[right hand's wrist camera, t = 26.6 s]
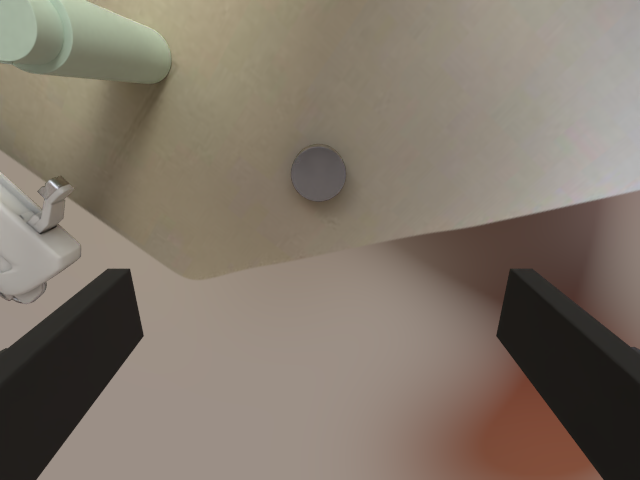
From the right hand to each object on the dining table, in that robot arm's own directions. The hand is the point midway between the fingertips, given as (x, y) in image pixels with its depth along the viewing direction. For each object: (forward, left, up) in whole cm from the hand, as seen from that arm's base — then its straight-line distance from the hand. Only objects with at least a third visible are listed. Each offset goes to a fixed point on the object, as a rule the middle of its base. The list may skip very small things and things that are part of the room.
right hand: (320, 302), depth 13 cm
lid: (0, 0, -25) cm, 25 cm away
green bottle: (-15, -13, -27) cm, 34 cm away
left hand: (-11, -23, -20) cm, 33 cm away
